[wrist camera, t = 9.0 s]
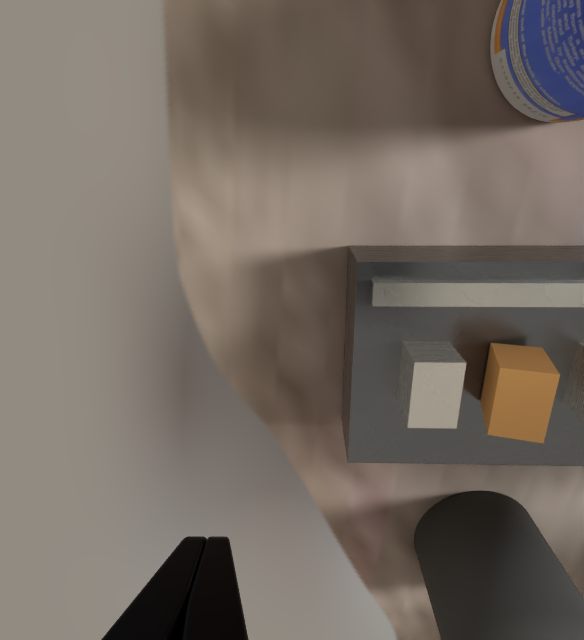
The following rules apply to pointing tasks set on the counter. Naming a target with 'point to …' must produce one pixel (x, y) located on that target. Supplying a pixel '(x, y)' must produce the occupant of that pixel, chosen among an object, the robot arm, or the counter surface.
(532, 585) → the dark grey cylinder
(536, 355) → the breaker paddle
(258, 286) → the counter surface
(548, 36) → the pill bottle
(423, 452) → the breaker panel
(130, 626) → the robot arm
